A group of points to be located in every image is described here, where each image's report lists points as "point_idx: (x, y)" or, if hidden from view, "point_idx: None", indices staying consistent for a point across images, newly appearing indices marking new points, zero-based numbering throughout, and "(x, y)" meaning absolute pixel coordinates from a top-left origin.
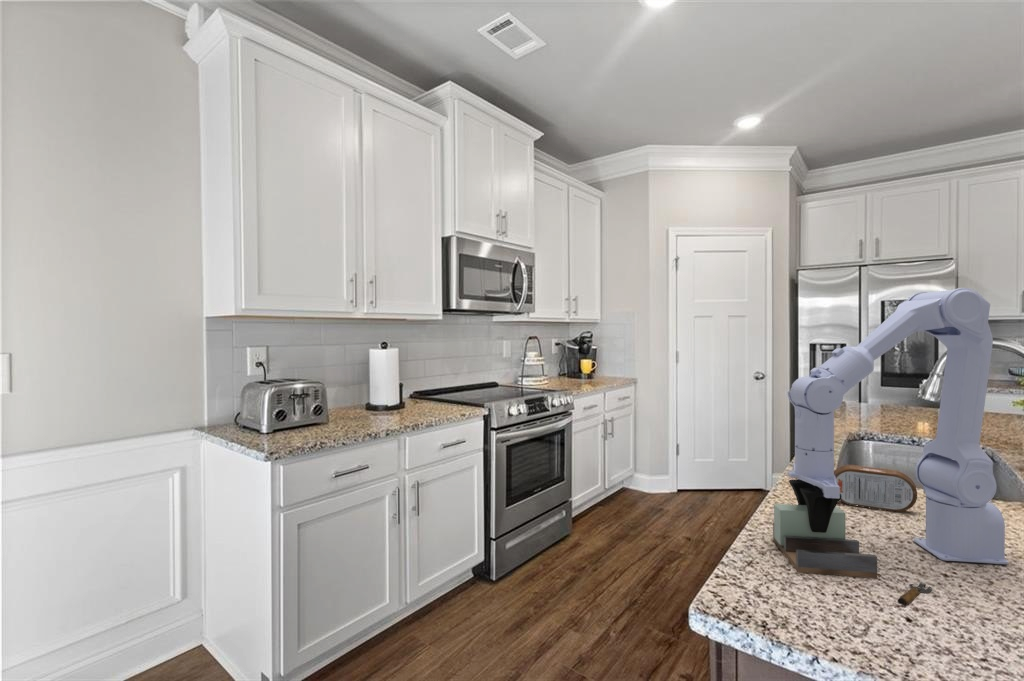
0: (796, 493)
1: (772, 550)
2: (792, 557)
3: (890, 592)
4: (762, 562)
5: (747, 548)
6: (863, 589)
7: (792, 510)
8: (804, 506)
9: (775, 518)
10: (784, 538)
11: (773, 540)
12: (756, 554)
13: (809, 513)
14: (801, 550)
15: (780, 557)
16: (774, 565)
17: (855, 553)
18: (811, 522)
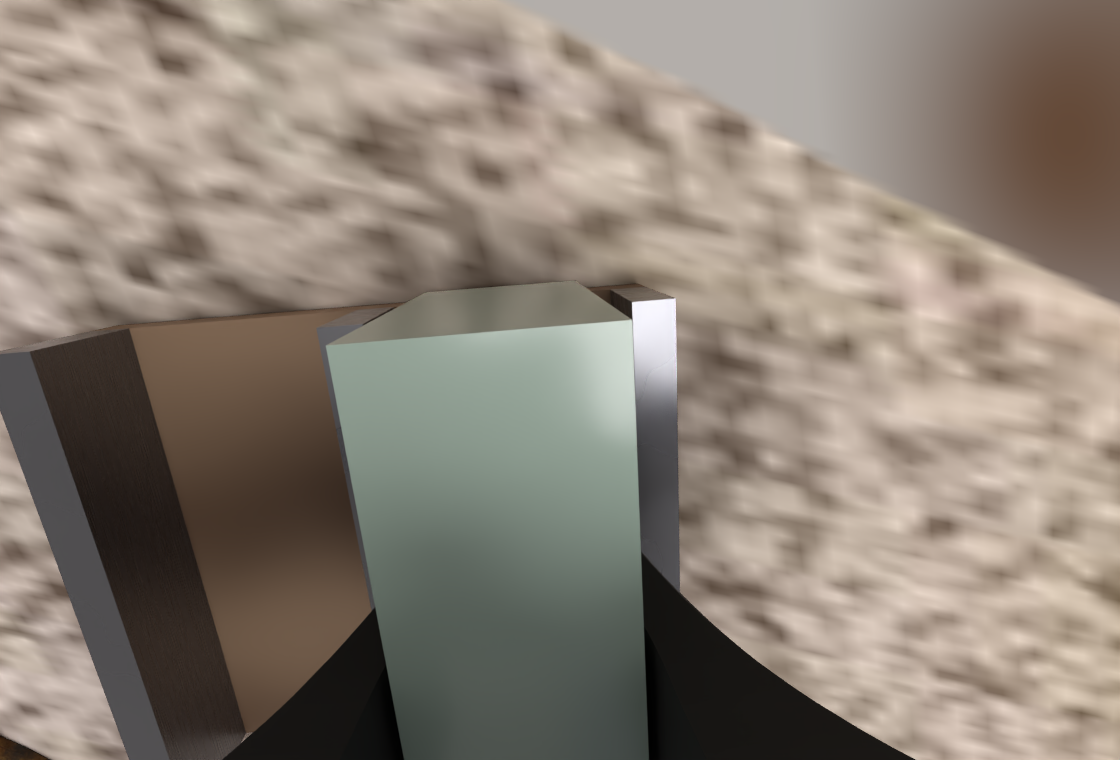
0: (742, 754)
1: (454, 238)
2: (260, 333)
3: (70, 718)
4: (192, 107)
5: (438, 42)
6: (41, 615)
7: (364, 514)
8: (584, 685)
9: (547, 301)
10: (351, 321)
11: (628, 284)
12: (336, 93)
13: (324, 685)
14: (23, 389)
15: (340, 266)
16: (172, 188)
17: (158, 736)
18: (365, 622)
